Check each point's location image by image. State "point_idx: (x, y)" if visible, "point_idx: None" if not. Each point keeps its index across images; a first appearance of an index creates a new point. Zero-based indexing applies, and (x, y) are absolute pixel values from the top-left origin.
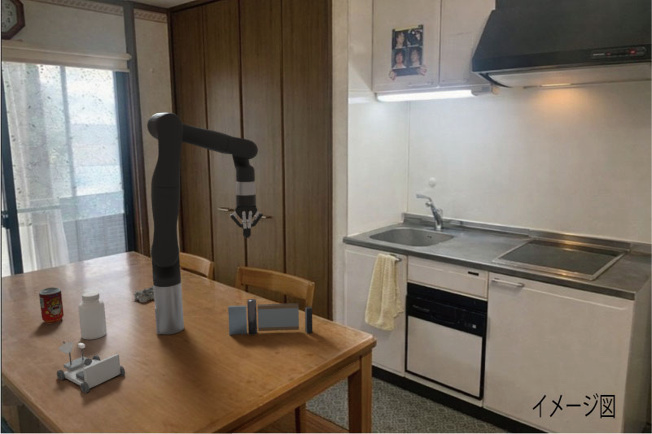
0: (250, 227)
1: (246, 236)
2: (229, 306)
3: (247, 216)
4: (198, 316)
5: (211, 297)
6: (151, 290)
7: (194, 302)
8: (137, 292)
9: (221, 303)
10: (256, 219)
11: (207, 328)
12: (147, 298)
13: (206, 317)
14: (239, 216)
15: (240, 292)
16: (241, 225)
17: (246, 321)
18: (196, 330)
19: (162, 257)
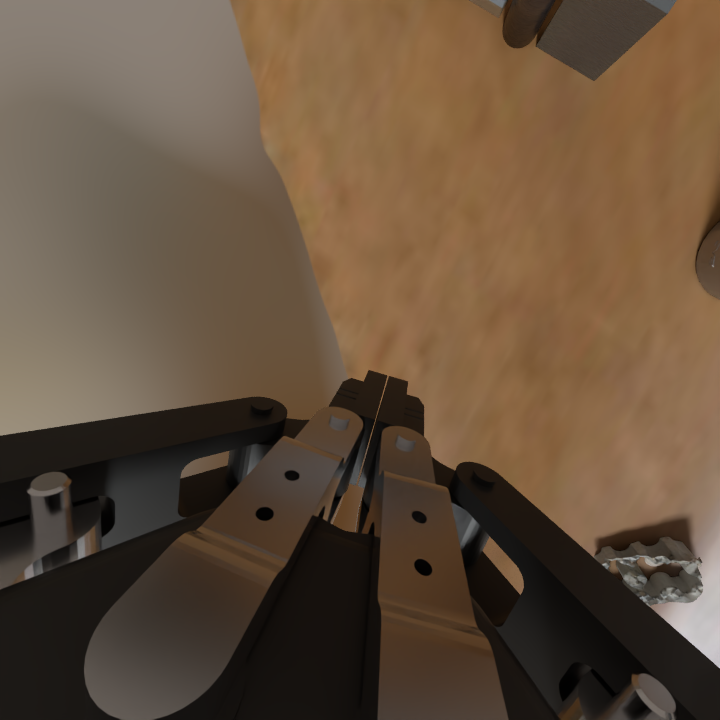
0: (326, 408)
1: (396, 380)
2: (668, 2)
3: (314, 576)
4: (596, 316)
5: (471, 450)
6: (637, 582)
7: (539, 442)
8: (682, 595)
9: (469, 382)
10: (157, 443)
11: (634, 183)
12: (658, 550)
13: (579, 291)
14: (525, 674)
15: (371, 435)
16: (461, 475)
17: (562, 1)
18: (679, 188)
19: None
